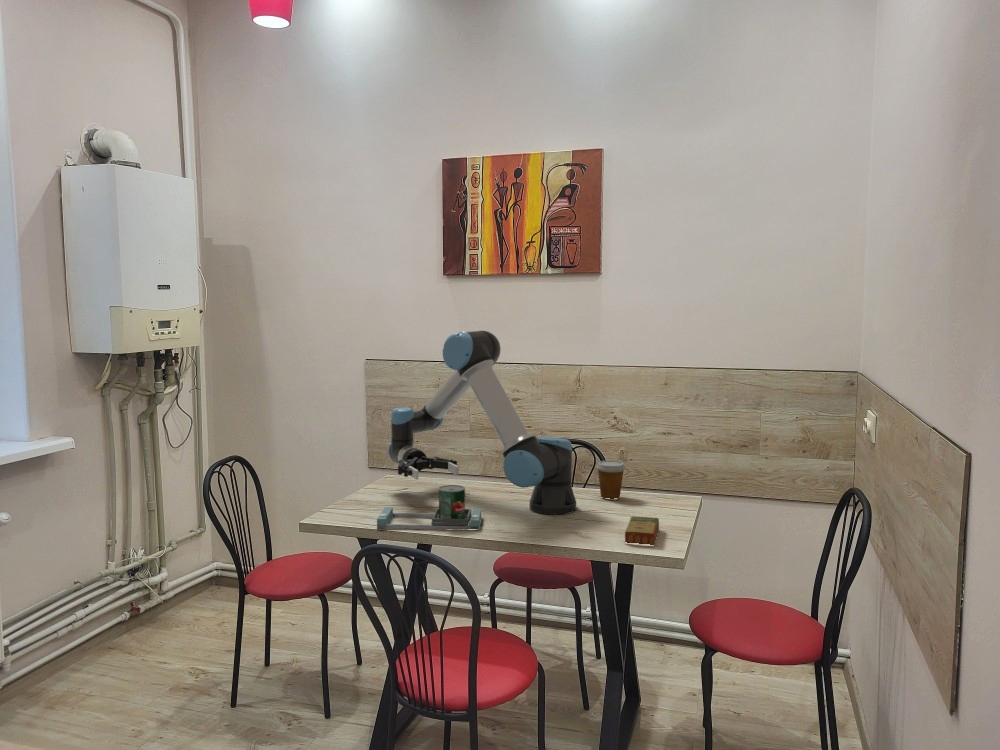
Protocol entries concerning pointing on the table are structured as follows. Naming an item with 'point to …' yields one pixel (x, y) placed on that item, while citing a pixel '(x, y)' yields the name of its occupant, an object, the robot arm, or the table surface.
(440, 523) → the carriage
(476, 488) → the table surface
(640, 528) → the carton
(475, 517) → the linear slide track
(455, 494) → the canned tomato
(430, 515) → the rail
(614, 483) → the disposable coffee cup
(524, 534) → the table surface
